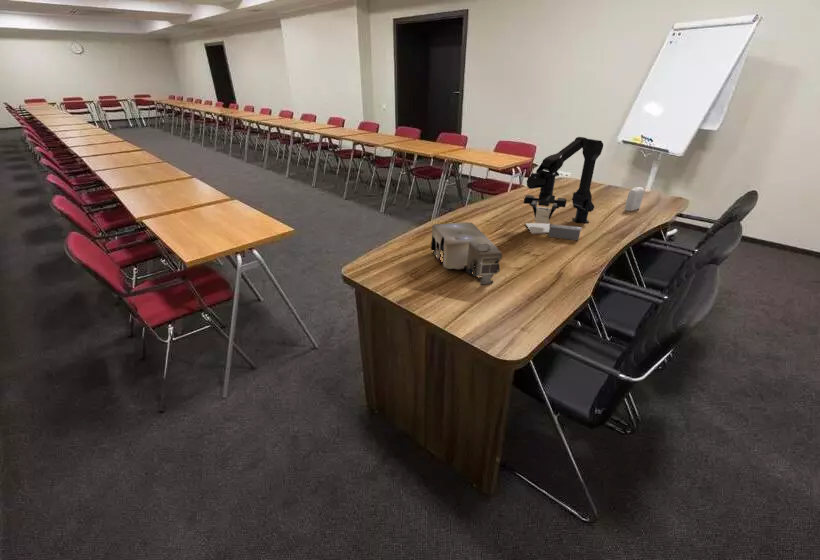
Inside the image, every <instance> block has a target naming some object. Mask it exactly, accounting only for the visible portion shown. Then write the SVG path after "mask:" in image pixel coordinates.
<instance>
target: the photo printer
mask: <svg viewBox="0 0 820 560" xmlns="http://www.w3.org/2000/svg"><path fill="white" fill-rule="evenodd" d="M644 194H645V188H644V187H642V186H635V187H633V188H631V189H630V191H629V192H628V194H627V199H626V202H625V206H624V210H625V211H627V212H633V211H636V210H639V209H640V208H641V205H642V201H643V198H644Z"/></svg>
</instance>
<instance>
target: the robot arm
mask: <svg viewBox="0 0 820 560" xmlns="http://www.w3.org/2000/svg"><path fill="white" fill-rule="evenodd" d="M603 148H604V143H603V141H602V140H599V139H592V138H587V137H584V136H583V137H582V136H578V137H575V139H574V140H573V141H571V142H570V143H568V145H566V146H565V147H563V148H562V149H561V150H559V151H558V152H557V153H553V154H550V155H547V156H546V157H545V158H544V159H542V161H541V164H540V165H539V166H538V168H537V169H536V171H535V172H532V173H531V174H530V176H529V177H528V178H527V180H526V185H527V188H529V189H530V190H533V189H540V190H539V195H538V197H535V195H531V194H526V195H525V197H524V200H523V204H527V205H529V206H531V208H532V210H533V214H534V215H533V216H534V218H535V217H536V210H537V208H538V207H549V206H550V205H552V206H551V211H550V215H549V220H550V219H551V218H552V216H553V214H554V212H555V210H557V209H559V208H566V205H567V199H566V198H564V197H563V198H562V197H557V199H556V195H554V194H553V193H554V188H555V182H556V177H559V176H560V173H559V172H558V171H559V170H560V169H561V168H562V167H563V165H564V162H566V161H567V160H568V159H570V158H571V157H572V156H573V155H574V154H576V153H578V152H579V151H580V150H582V155H583V159H584V162H583V166H582V171H581V176H580V181H579V187H578V189H577V190H576V191H575V192H573V194H572V198H571V201H572V207H573V208H574V209H576V211H575V217H572V220H573V221H574V222H575V223H580V224H581V223H582V224H583V223H585V224H589V223H590V221H589V219H588V216H589V213H591V212H592V211H594V210H595V205H594V203H593V201H592V200H593V199H592V197H593V196H592V193H591V184H592V182H593V181H592V180H593V177H594V176H593V175H594V170H595V167H596V166H595V165H596V161H597V160H598V158H599V157H600V156H601V154H602V151H603Z"/></svg>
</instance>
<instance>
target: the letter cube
mask: <svg viewBox="0 0 820 560" xmlns="http://www.w3.org/2000/svg"><path fill="white" fill-rule="evenodd" d="M551 209H552V207H547V206H537V210H536V217H535V216H534V218H535V219H534V223H545V224H548V223H549V221H550V219H549V215H550V212H551Z"/></svg>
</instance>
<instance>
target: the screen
mask: <svg viewBox="0 0 820 560" xmlns="http://www.w3.org/2000/svg"><path fill="white" fill-rule="evenodd" d="M549 227H550V230H549V234H548V238H555V237H556V238H555V239H562V238H563V239H564V240H565V239H566V240H571V241H579V239H580V234H581V231H582V226H581V227H580V226H575V225H574V226H573V225H563V224H555V223H550V225H549ZM563 239H562V240H563Z"/></svg>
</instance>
